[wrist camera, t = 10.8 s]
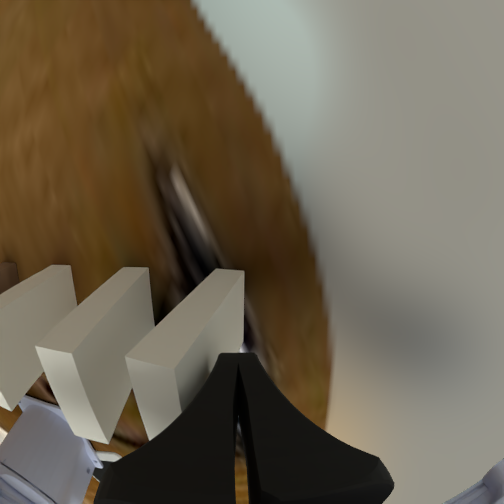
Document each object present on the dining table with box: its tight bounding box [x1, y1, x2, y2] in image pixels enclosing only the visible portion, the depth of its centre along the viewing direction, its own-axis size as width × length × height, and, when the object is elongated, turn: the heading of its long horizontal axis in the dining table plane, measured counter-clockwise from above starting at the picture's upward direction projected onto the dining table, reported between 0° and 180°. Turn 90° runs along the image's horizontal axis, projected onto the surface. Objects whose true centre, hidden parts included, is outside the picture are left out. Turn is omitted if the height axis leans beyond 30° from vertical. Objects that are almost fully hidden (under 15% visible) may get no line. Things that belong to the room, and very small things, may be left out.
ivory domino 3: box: [125, 269, 244, 441], centre depth 12 cm, size 4×2×9 cm, turn 179°
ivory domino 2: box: [35, 267, 155, 444], centre depth 11 cm, size 4×2×9 cm, turn 179°
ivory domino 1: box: [0, 265, 77, 411], centre depth 11 cm, size 4×2×9 cm, turn 179°
